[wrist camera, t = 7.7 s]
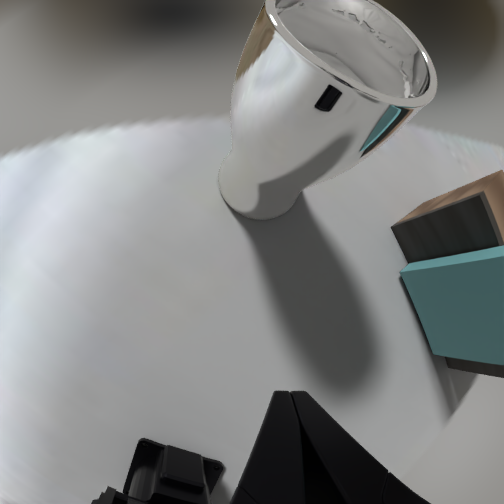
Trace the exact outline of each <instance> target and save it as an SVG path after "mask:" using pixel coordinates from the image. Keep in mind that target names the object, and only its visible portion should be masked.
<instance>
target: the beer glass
mask: <svg viewBox="0 0 504 504" xmlns="http://www.w3.org/2000/svg"><path fill="white" fill-rule="evenodd" d="M436 91H437V76H436V72H435V68H434V66H433V64H432V61H431V59H430V57H429V55H428V53H427V52H426V50H425V49H424V47H423V46H422V44H421V43H420V42H419V40H418V39H417V38H416V36H415V35H414V34H413V33H412V32H411V31H410V30H409V29H408V28H407V27H406V26H405V25H404V24H403V23H402V22H401V21H400V20H399V19H398V18H397V17H395V16H394V15H393V14H392V13H390V12H389V11H388V10H386V9H385V8H383V7H382V6H381V5H379V4H378V3H376V2H374V1H372V0H265V1H264V4H263V7H262V9H261V11H260V13H259V16H258V18H257V20H256V22H255V24H254V26H253V28H252V30H251V33H250V35H249V38H248V40H247V42H246V45H245V47H244V50H243V53H242V56H241V59H240V62H239V65H238V68H237V71H236V76H235V80H234V85H233V90H232V96H231V113H230V121H231V142H232V149H231V151H230V152H229V153H228V154H227V155H226V157H225V158H224V159H223V161H222V163H221V166H220V169H219V173H218V183H219V188H220V191H221V194H222V196H223V198H224V199H225V201H226V202H227V204H228V205H229V206H230V207H231V208H232V209H233V210H235V211H236V212H237V213H239V214H241V215H243V216H245V217H248V218H251V219H256V220H267V219H272V218H276V217H278V216H280V215H282V214H284V213H285V212H286V211H288V210H289V209H290V208H291V207H292V205H293V204H294V202H295V201H296V199H297V197H298V195H299V193H300V191H302V190H304V189H307V188H309V187H312V186H315V185H317V184H320V183H322V182H325V181H327V180H330V179H332V178H334V177H336V176H338V175H340V174H342V173H344V172H346V171H348V170H350V169H351V168H353V167H354V166H356V165H357V164H359V163H360V162H362V161H363V160H365V159H366V158H368V157H369V156H370V155H372V154H373V153H374V152H375V151H376V150H378V149H379V148H380V147H381V146H382V145H384V144H385V143H386V142H387V141H388V140H389V139H390V138H392V137H393V136H394V135H395V134H396V133H397V132H398V131H399V130H400V129H401V128H402V127H403V126H404V125H405V124H406V123H407V122H408V121H409V120H410V119H411V118H412V117H413V116H414V115H415V114H416V113H417V112H418V111H419V110H420V109H421V108H422V107H423V106H425V105H426V104H428V103H429V102H431V100H432V99H433V98H434V96H435V94H436Z"/></svg>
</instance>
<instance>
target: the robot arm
mask: <svg viewBox="0 0 504 504" xmlns="http://www.w3.org/2000/svg"><path fill="white" fill-rule="evenodd" d="M142 443H145V444H147V445H148V446H143V445H142ZM214 466H219V467H217V468H214ZM222 470H223V465H222V463H221V462H220V461H217V460H213V459H209V458H205V457H202V456H201V455H200V454H196V453H193V452H189V451H186V450H183V449H179V448H176V447H173V446H170V445H167V446H166V445H163V444H160V443H157V442H154V441H152V440H149V439H146V438H141V439H140V440H139V441H138V444H137V447H136V450H135V453H134V456H133V460H132V463H131V466H130V469H129V472H128V475H127V479H126V482H125V485H124V488H123V493H124V494H123V493H120V492H118V491H116V489H114V488H111V487H109V486H108V487H107V490H106V492H105V493H103V492H102V493H101V495H100V497H99V499H97V500H93V501H92V503H91V504H211V499H210V495H211V493H212V491H213V489H214V486H215V484H216V482H217V480H218V478H219V476H220V474H221V472H222ZM128 491H129V492H128ZM230 504H431V503H429V502H428V501H426V500H425V499H423V498H421V497H420V496H419V495H417V494H416V493H415V492H413V491H412V490H410V489H409V488H408V487H407V486H406V485H405V484H403V483H402V482H401V481H400V480H399V479H397V478H396V477H395V476H394V475H393V474H392V473H390V472H389V473H388V470H387V469H386V468H385V467H384V466H383V465H382V464H381V463H379V462H378V461H377V460H376V459H375V458H374V457H373V456H372V455H371V454H370V453H369V452H368V451H366V450H365V449H364V448H363V447H362V446H361V445H360V444H359V443H358V442H357V441H356V440H355V439H354V438H353V437H352V436H351V435H350V434H349V433H348V432H346V431H345V430H344V429H343V428H342V427H341V426H340V425H339V424H338V423H337V422H336V421H335V420H334V419H333V418H332V417H331V416H330V415H329V414H328V413H327V412H326V411H325V410H324V409H323V408H322V407H321V406H320V405H319V404H318V403H317V402H316V401H315V400H314V399H313V398H312V397H311V396H310V395H309V394H308V393H307V392H306V391H291V392H289V391H274V393H273V395H272V398H271V401H270V404H269V407H268V409H267V412H266V415H265V418H264V420H263V423H262V426H261V428H260V431H259V434H258V436H257V439H256V442H255V444H254V447H253V449H252V452H251V454H250V457H249V459H248V462H247V464H246V467H245V469H244V472H243V474H242V477H241V479H240V481H239V484H238V487H237V488H236V490H235V493H234V495H233V497H232V500H231V502H230Z"/></svg>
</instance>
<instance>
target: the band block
mask: <svg viewBox="0 0 504 504" xmlns="http://www.w3.org/2000/svg"><path fill="white" fill-rule="evenodd" d="M391 228H392V230H393V232H394V234H395V236H396V238H397V240H398V242H399V244H400V246H401V248H402V250H403V252H404V255H405V257H406V259H407V261H408V263H413V262H419V261H425V260H431V259H436V258H442V257H447V256H453V255H458V254H463V253H468V252H474V251H479V250H484V249H489V248H494V247H498V246H503V245H504V172H503V170H500V171H498V172H495V173H493V174H491V175H488V176H486V177H484V178H481V179H479V180H476V181H474V182H472V183H469V184H467V185H465V186H462V187H460V188H457V189H455V190H453V191H450V192H448V193H445V194H443V195H441V196H438V197H436V198H433V199H431V200H429V201H426V202H424V203H422V204H421V205H420V206H418V207H417V208H416V209H415V210H413V211H412V212H411V213H409V214H408V215H407V216H405V217H404V218H403V219H401V220H400V221H399V222H397V223H396V224H394V225H393V226H392V227H391ZM445 358H446V361H447V364H448V368H452V369H457V370H462V371H468V372H473V373H478V374H484V375H489V376H495V377H501V378H504V365H498V364H491V363H484V362H477V361H470V360H464V359H458V358H452V357H446V356H445Z"/></svg>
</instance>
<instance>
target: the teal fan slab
mask: <svg viewBox="0 0 504 504" xmlns="http://www.w3.org/2000/svg"><path fill="white" fill-rule="evenodd" d="M400 274H401V276H402V278H403V281H404V283H405V285H406V287H407V290H408V292H409V294H410V296H411V299H412V301H413V303H414V306H415V308H416V311H417V313H418V315H419V318H420V320H421V323H422V325H423V328H424V331H425V333H426V336H427V339H428V341H429V344H430V347H431V349H432V352H433V354H434V355H440V356H446V357H452V358H458V359H464V360H470V361H477V362H484V363H491V364H498V365H504V245H503V246H498V247H494V248H489V249H484V250H479V251H474V252H468V253H463V254H458V255H453V256H447V257H442V258H436V259H431V260H425V261H419V262H413V263H409V264H408V265H407V266H406V267H405V268H404V269H403V270H401V271H400Z"/></svg>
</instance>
